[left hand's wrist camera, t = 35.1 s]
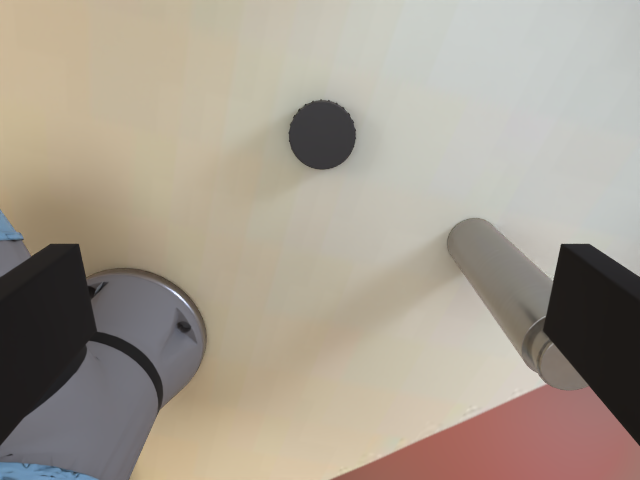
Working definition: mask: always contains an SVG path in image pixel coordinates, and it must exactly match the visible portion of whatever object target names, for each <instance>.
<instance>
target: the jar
mask: <svg viewBox="0 0 640 480" xmlns="http://www.w3.org/2000/svg"><path fill="white" fill-rule="evenodd" d="M447 247H448V251H449V253H450V255H451V256H452V258H453V259H454V261H455V262H456V264H457V265H458V266H459V268H460V269H461V271H462V272H463V274H464V275H465V277H466V278H467V279H468V281H469V282H470V284H471V285H472V287H473V288H474V290H475V291H476V292H477V294H478V295H479V297H480V298H481V300H482V301H483V303H484V304H485V306H486V307H487V308H488V310H489V311H490V313H491V314H492V316H493V317H494V319H495V320H496V321H497V323H498V324H499V326H500V327H501V329H502V330H503V332H504V333H505V334H506V336H507V337H508V339H509V340H510V342H511V343H512V345H513V346H514V347H515V349H516V350H517V352H518V353H519V355H520V356H521V358H522V359H523V360H524V362H525V363H526V365H527V366H528V367H529V368H530V369H532V370H533V371H535V372H537V373H538V374H539V376H540V377H541V378H542V380H543V381H544V382H545V383H547V384H549V385H550V386H552V387H554V388H558V389H561V390H578V389H582V388H585V387H587V386H589V385H588V384H587V383H586V382H585V380H584V379H583V378H582V377H581V376H580V374H579V373H578V372H577V371H576V370H575V368H574V367H573V366H572V365H571V364H570V363H569V361H568V360H567V359H566V358H565V357H564V355H563V354H562V353H561V352H560V351H559V349H558V348H557V347H556V346H555V345H554V344H553V342H552V341H551V340H550V339H549V338H548V336H547V335H546V334H545V333H544V332H543V328H544V323H545V318H546V314H547V309H548V304H549V299H550V295H551V290H552V285H553V281H552V280H551V279H550V278H549V277H548V276H547V275H546V274H545V273H544V272H542V271H541V270H540V269H539V268H538V267H537V266H536V265H535V264H534V263H533V262H532V261H530V260H529V259H528V258H527V257H526V256H525V255H524V254H523V253H522V252H521V251H520V250H519V249H517V248H516V247H515V246H514V245H513V244H512V243H511V242H510V241H509V240H508V239H507V238H506V237H504V236H503V235H502V234H501V233H500V232H499V231H498V230H497V229H496V228H495V227H494V226H493V225H491V224H490V223H489V222H488V221H486V220H483V219H479V218H471V219H467V220H464V221H462V222H460V223H459V224H457V225H456V226H455V227H454V228H453V229H452V231H451V232H450V234H449V237H448V241H447Z"/></svg>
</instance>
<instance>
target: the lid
mask: <svg viewBox="0 0 640 480" xmlns="http://www.w3.org/2000/svg"><path fill="white" fill-rule="evenodd" d="M293 118H294V119H293V121H292V122H291V124H290V126H291V127H290V131H289V142H290V145H291V149H292V150H293V152H294V154H295V155H296V157H297V158H298V159H299V160H300V161H301V162H302V163H304V164H305V165H307V166H309V167H311V168H315V169H330V168H333V167H336V166H338V165H339V164H341V163H342V162H344V161H345V160H346V159H347V158H348V156H349V155H350V154H351V152H352V150H353V147H354V144H355V139H356V137H355V135H356V134H355V131H356V129H355V128H354V124H353V123H354V122H353V120H351V118H350V114H349V113H347V112H346V111H345V110H344V107H341V106H339V105H338V104H337V103H334V102H330V100H328V101H325V100H322V99H320V101H312V102H311V103H309V104H307V105H306V104H305V106H304V107H303V108H301V109H299V110H298V113H297V114H296V115H294V117H293Z"/></svg>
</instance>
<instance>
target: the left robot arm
mask: <svg viewBox="0 0 640 480" xmlns="http://www.w3.org/2000/svg"><path fill="white" fill-rule="evenodd" d="M22 240H24V239H23V236H22V235H21V233H19V232H16V231H15V229H14V228H13V227H12V225H11V224H10V222H9V221H8V220H7V218H6V217H5V215H4V214H3V213H2V211H1V210H0V480H129V478H130V476H131V473H132V471H133V469H134V466H135V464H136V462H137V460H138V457H139V455H140V453H141V451H142V448H143V446H144V444H145V441H146V439H147V437H148V435H149V432H150V430H151V428H152V426H153V423H154V421H155V419H156V416H157V414H158V412H159V410H160V409H161V408H162V407H163V406H164V405H165V404H166V403H168V402H169V401H170V400H171V399H172V398H173V397H174V396H175V395H176V394H177V393H178V392H180V391H181V390H182V389H183V388H184V387H185V386H186V385H187V384H188V383H189V381H190V380H191V379H192V377H193V376H194V375H195V373H196V372H197V370H198V368H199V366H200V363H201V361H202V358H203V355H204V353H205V348H206V329H205V325H204V322H203V319H202V317H201V314H200V312H199V311H198V309H197V307H196V306H195V304H194V303H193V302H192V300H191V299H190V298H189V297H188V296H187V295H186V294H185V293H184V292H183V291H182V290H181V289H180V288H178V287H177V286H176V285H174V284H173V283H171V282H170V281H168V280H166V279H164V278H162V277H160V276H158V275H155V274H152V273H150V272H146V271H142V270H137V269H128V268H117V269H109V270H104V271H101V272H98V273H95V274H93V275H90V276H89V277H87V278H86V276H85V271H84V266H83V262H82V257H81V252H80V247H79V244H50V245H48V246H47V247H45V248H44V249H42V250H41V251H39V252H38V253H36V254H35V255H33V256H32V257H31V255H30V253H29V251H28V250H27V248H26V246H25V245H24V243H23V241H22ZM543 332H544V333H545V334H546V335H547V336H548V338H549V339H550V340H551V341H552V342H553V344H554V345H555V346H556V347H557V348H558V349H559V351H560V352H561V353H562V354H563V355H564V357H565V358H566V359H567V360H568V361H569V363H570V364H571V365H572V366H573V367H574V368H575V370H576V371H577V372H578V373H579V374H580V376H581V377H582V378H583V379H584V380H585V382H586V383H587V384H588V385H589V386H590V387H591V389H592V390H593V391H594V392H595V393H596V395H597V396H598V397H599V398H600V399H601V400H602V402H603V403H604V404H605V405H606V406H607V408H608V409H609V410H610V411H611V412H612V414H613V415H614V416H615V417H616V418H617V419H618V421H619V422H620V423H621V424H622V425H623V427H624V428H625V429H626V430H627V431H628V433H629V434H630V435H631V436H632V437H633V438H634V440H635V441H636V442H637V443H638V444H639V446H640V277H639V276H637V275H636V274H634V273H633V272H631V271H630V270H628V269H627V268H625V267H624V266H622V265H621V264H619V263H618V262H616V261H614V260H613V259H611V258H610V257H608V256H607V255H605V254H604V253H602V252H601V251H599V250H598V249H596V248H595V247H593V246H592V245H590V244H561V247H560V252H559V257H558V262H557V266H556V271H555V276H554V280H553V285H552V290H551V295H550V299H549V304H548V309H547V314H546V318H545V323H544V328H543Z"/></svg>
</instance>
